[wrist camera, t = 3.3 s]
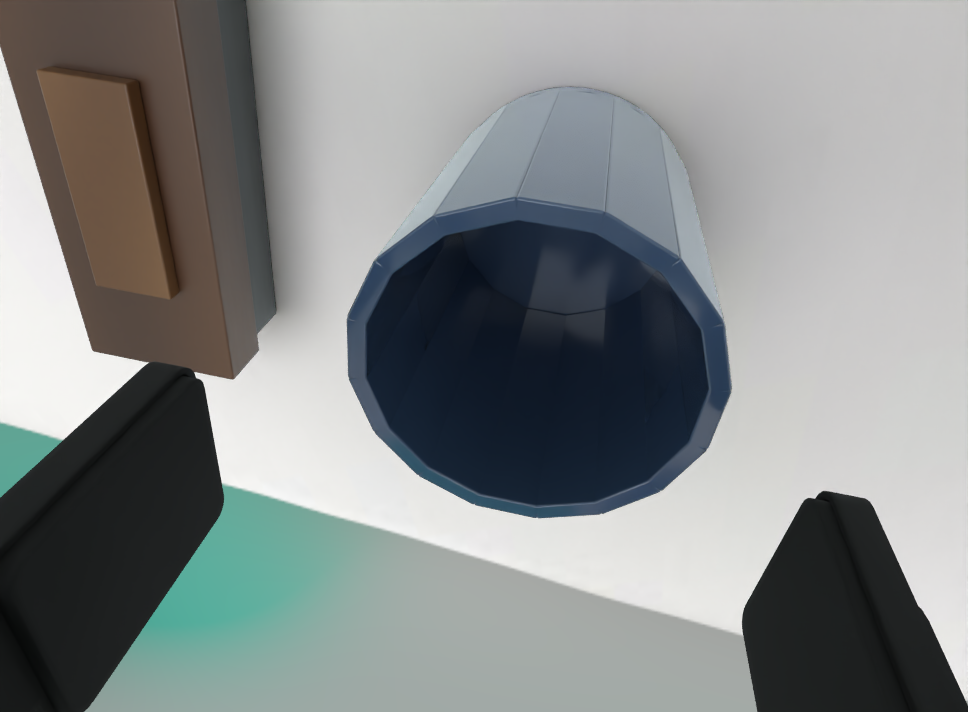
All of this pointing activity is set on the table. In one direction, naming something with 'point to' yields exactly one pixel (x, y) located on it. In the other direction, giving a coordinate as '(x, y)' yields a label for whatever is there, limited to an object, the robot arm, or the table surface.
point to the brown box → (150, 171)
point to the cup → (547, 315)
